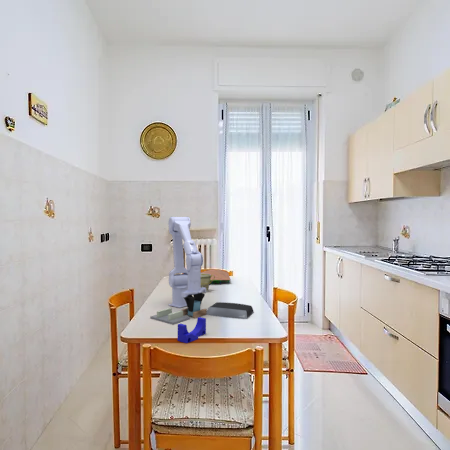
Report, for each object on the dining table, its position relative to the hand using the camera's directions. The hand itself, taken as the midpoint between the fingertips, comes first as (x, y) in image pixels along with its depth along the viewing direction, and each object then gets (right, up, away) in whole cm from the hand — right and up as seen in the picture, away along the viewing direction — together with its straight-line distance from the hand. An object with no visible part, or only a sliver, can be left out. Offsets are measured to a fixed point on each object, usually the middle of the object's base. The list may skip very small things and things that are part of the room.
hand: (194, 310), depth 161 cm
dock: (-10, -2, -6) cm, 12 cm away
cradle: (0, -2, 0) cm, 2 cm away
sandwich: (+6, 0, +85) cm, 85 cm away
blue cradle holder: (+2, -3, -29) cm, 30 cm away
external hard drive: (+16, -3, +3) cm, 17 cm away
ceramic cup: (+2, -1, +49) cm, 49 cm away
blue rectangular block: (0, -2, 0) cm, 2 cm away
